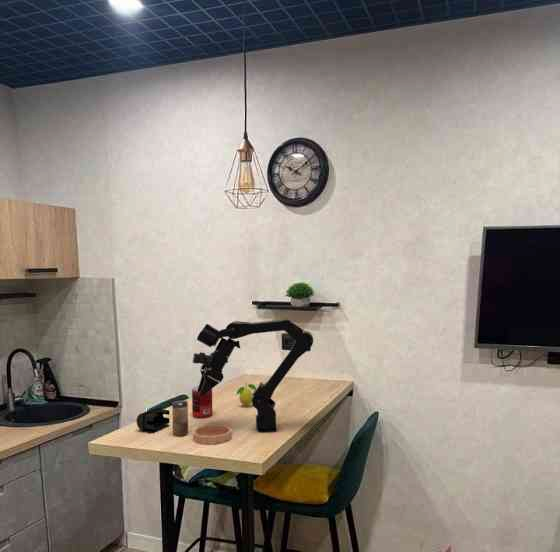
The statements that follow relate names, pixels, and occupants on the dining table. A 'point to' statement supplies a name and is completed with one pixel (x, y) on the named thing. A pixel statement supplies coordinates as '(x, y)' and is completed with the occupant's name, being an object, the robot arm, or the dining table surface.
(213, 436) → the terracotta dish
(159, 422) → the end cap
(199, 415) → the canned food
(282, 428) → the dining table surface
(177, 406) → the pepper mill
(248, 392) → the lemon
